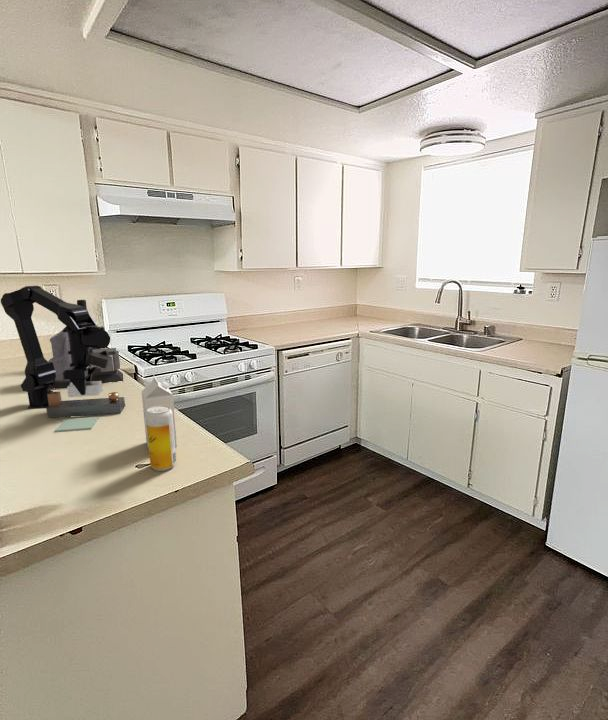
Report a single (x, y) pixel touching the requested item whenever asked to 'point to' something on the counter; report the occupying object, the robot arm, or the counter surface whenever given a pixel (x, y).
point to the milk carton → (157, 400)
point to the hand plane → (84, 406)
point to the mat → (77, 424)
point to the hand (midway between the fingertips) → (85, 392)
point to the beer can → (161, 437)
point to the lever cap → (91, 389)
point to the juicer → (63, 361)
